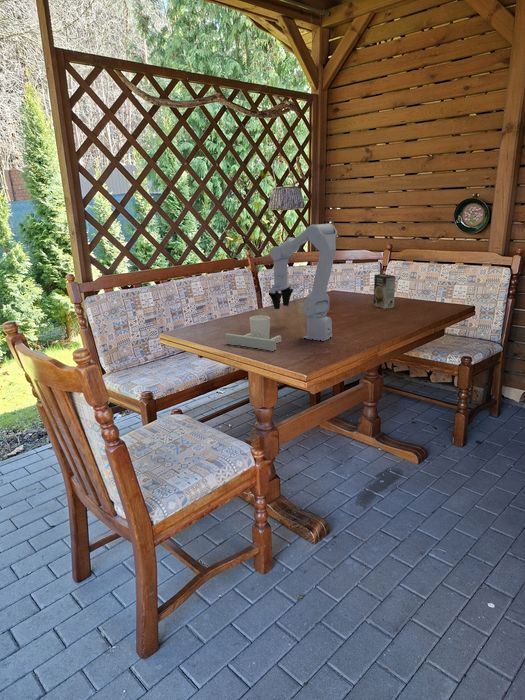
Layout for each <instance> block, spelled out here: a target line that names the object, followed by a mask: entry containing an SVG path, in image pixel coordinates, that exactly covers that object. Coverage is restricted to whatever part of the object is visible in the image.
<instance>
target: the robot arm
mask: <svg viewBox="0 0 525 700" xmlns="http://www.w3.org/2000/svg"><path fill="white" fill-rule="evenodd" d="M337 236H338V230H337V229H336V227H335V225H334V224H332V223H330V222H327V223H321V224H320V223H319V224H310V225H309V226H307V227H306V228H305V230H303V231H302V232H301V233H299V234H298V235H297V236H296V237H287V238H286V240H285V241H283V242H281V243H279V245H278V246H276V245H275V246H273V247H272V248H271V249H270V254H269V255H270V258H271V259H272V260H273V285H271V287H270V288H269V292H268V296H269V297H270V299H271V302H272V305H273V308H274V310H280V307H281V300H282V305H283V306H285V307H288V306H289V304H290V300H291V296H292V295H293V293H294V288H292V283H289V280H288V275H289V274H288V273H289V272H288V265H289V259H290V257H291V255H293V254H294V253H296V252H297V251H299V249H300V247H301V246H302V245H303V244H305V243H307V242H309V241H310V243H311V244H312V245H313V246H314V248H316V249H317V250H318V251H319V256H318V261H317V264H316V265H317V266H316V269H315V275H314V278H313V284H312V288H311V291H310V293H308V294H307V295H306V296H305V300H304V302H303V303H302V311H303V314H304V315H305V317H306V333H307V334H306V335H304V336H303V337H302V338H303V339H304V338H306V340H312V339H313V340H315V341H320V340H321V341H320V342H325V341H327V340H329V339H331V338H332V337H334V336H333V334H332V333H333V321H332V318H331V317H329V316H327V313H328V312H329V311H330V299H331V297H330V296H329V295H328V293H327V290H328V287H329V286H328V285H329V281H330V278H331V277H330V276H331V272H332V268H333V265H334V264H333V263H334V260H335V256H336V253H337V252H336V250H337V247H336V240H337ZM330 337H331V338H330Z"/></svg>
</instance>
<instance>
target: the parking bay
mask: <svg viewBox="0 0 525 700" xmlns="http://www.w3.org/2000/svg"><path fill="white" fill-rule="evenodd" d="M224 335H225V336H224V337H225V344H226V343H230V344H236V345H242V346H249V347H254V348H260V349H266V350H272V351H274V350H276V351H277V344H276V343H278V342H280V343H282V335H279V334H278V335H276V336H273V337H272V338H269V339H264V338H257V337H251V332H249V333H246V334H245V335H243V334H242V335H241V334H233V333H225V334H224ZM278 344H279V343H278ZM266 350H265V351H266ZM272 351H271V352H272ZM274 352H275V351H274Z"/></svg>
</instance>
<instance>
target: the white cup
mask: <svg viewBox="0 0 525 700" xmlns="http://www.w3.org/2000/svg"><path fill="white" fill-rule="evenodd" d="M249 326H250V328H249V329H250V333H251V337H257V338H264V339H270V331H271V329H270V328H271V327H270V326H271V317H270V316H268V315H261V314H260V315H253V316H250V317H249Z"/></svg>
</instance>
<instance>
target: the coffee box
mask: <svg viewBox="0 0 525 700" xmlns="http://www.w3.org/2000/svg"><path fill="white" fill-rule="evenodd" d="M373 283H374V285H373V307H376V308H379V307H380V309H384V310H385V309H386V308H387V309H394V308H395V293H396V292H395V291H396V275H391V274H385V273H381V274H374V282H373ZM393 307H394V308H393Z"/></svg>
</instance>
